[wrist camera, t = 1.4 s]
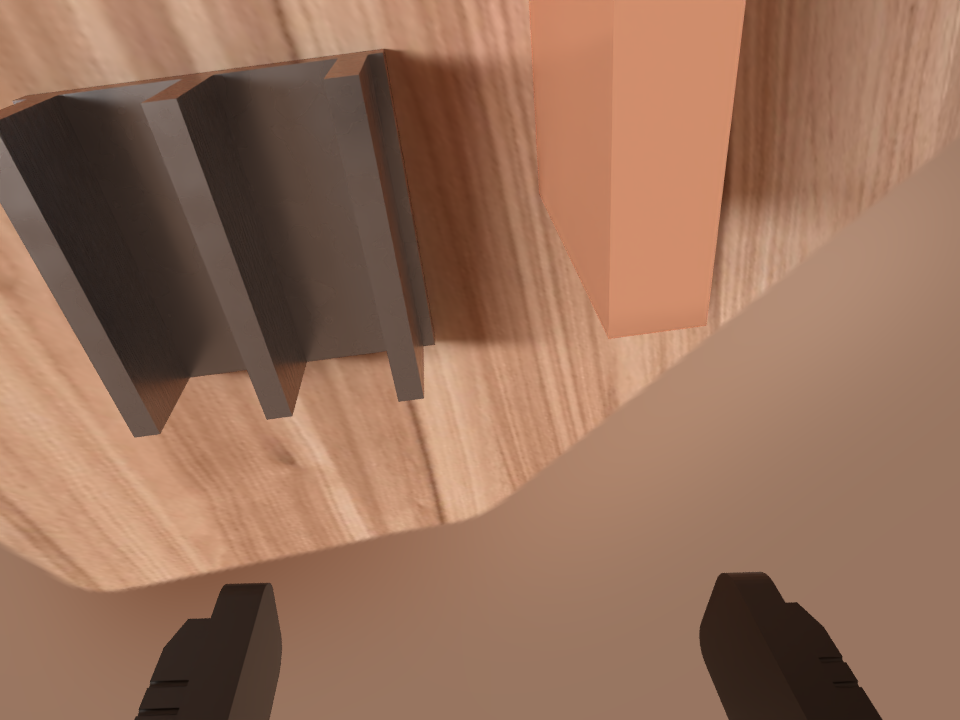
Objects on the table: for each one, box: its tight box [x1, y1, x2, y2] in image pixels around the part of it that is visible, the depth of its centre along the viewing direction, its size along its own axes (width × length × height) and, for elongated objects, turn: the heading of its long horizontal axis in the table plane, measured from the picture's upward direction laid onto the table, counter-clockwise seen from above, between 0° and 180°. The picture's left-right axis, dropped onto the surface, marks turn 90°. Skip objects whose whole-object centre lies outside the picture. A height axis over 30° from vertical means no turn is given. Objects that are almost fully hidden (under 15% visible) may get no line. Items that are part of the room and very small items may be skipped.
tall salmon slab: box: [529, 0, 746, 339], centre depth 21 cm, size 10×3×13 cm, turn 6°
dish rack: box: [0, 49, 435, 438], centre depth 27 cm, size 14×15×6 cm
